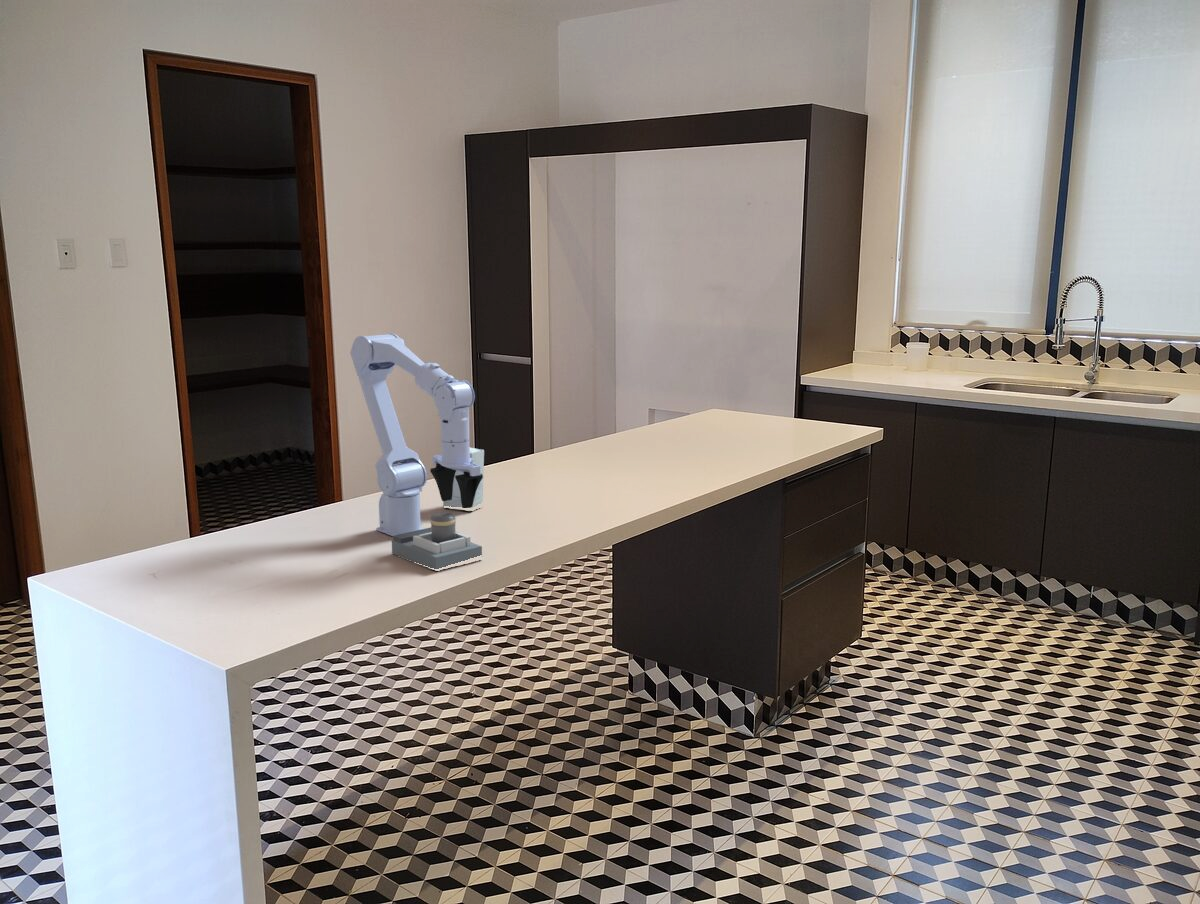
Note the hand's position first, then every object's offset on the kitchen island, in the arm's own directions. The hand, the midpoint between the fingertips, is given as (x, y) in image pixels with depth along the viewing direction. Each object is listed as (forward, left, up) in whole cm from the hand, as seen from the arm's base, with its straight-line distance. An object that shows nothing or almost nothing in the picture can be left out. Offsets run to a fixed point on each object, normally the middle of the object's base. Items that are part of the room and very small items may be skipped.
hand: (456, 503), depth 203 cm
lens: (+5, -7, -6) cm, 11 cm away
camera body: (+3, -7, -9) cm, 12 cm away
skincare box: (-25, +20, -10) cm, 33 cm away
